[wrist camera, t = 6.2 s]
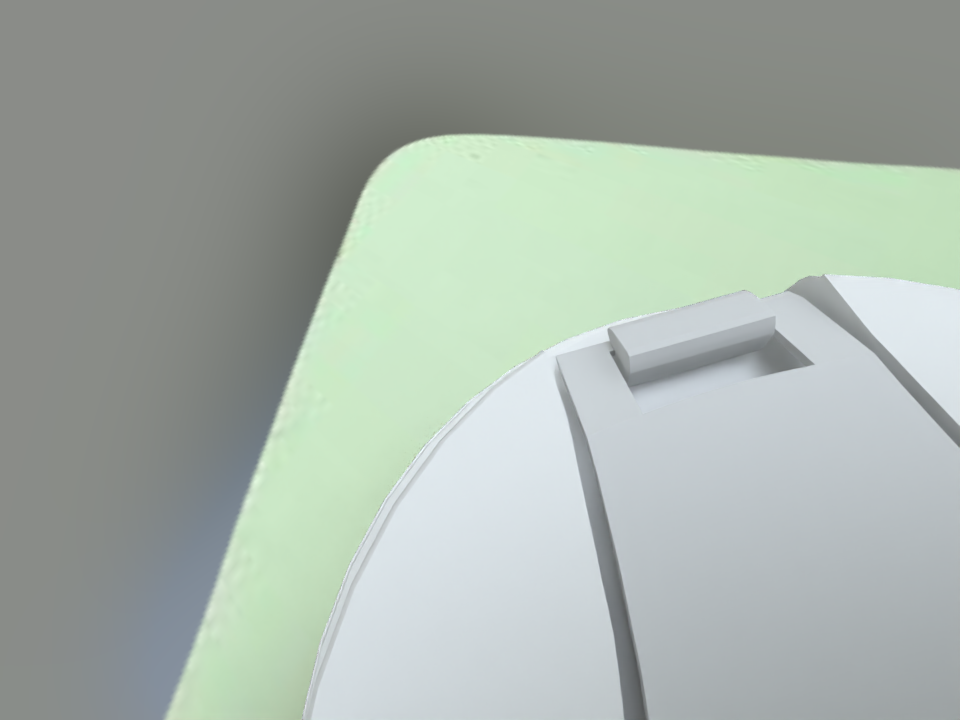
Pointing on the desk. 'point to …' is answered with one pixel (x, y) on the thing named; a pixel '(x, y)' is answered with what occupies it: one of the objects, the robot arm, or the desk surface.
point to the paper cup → (679, 526)
